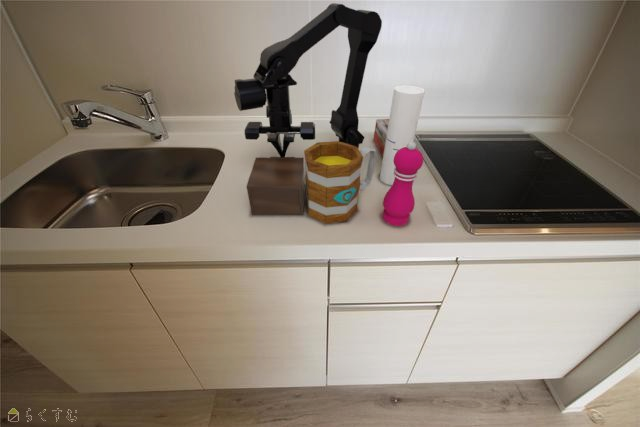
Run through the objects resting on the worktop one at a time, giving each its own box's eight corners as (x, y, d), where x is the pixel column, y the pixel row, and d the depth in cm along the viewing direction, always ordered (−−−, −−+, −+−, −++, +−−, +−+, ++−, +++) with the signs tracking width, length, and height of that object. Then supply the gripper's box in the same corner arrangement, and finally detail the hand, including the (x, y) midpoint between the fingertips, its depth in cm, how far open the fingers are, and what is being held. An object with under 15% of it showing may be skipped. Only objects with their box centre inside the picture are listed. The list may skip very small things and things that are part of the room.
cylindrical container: (389, 169, 88) (404, 83, 73) (409, 178, 84) (430, 89, 69) (374, 178, 84) (388, 89, 69) (395, 188, 80) (414, 96, 65)
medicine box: (372, 139, 104) (375, 118, 99) (394, 139, 105) (398, 117, 100) (384, 160, 93) (387, 136, 88) (408, 159, 93) (413, 135, 88)
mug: (322, 231, 66) (323, 175, 57) (295, 201, 75) (292, 149, 66) (386, 204, 74) (396, 152, 65) (354, 180, 83) (359, 131, 74)
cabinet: (260, 184, 81) (255, 157, 76) (304, 184, 81) (303, 157, 76) (251, 215, 71) (246, 186, 65) (302, 215, 71) (301, 185, 66)
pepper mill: (377, 209, 73) (389, 134, 60) (404, 208, 73) (423, 133, 61) (384, 228, 67) (400, 150, 55) (414, 226, 68) (436, 149, 55)
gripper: (315, 94, 80) (315, 145, 90) (248, 94, 80) (255, 145, 90) (314, 108, 71) (315, 163, 81) (239, 108, 71) (249, 163, 81)
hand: (283, 158), depth 84 cm, fingers closed
